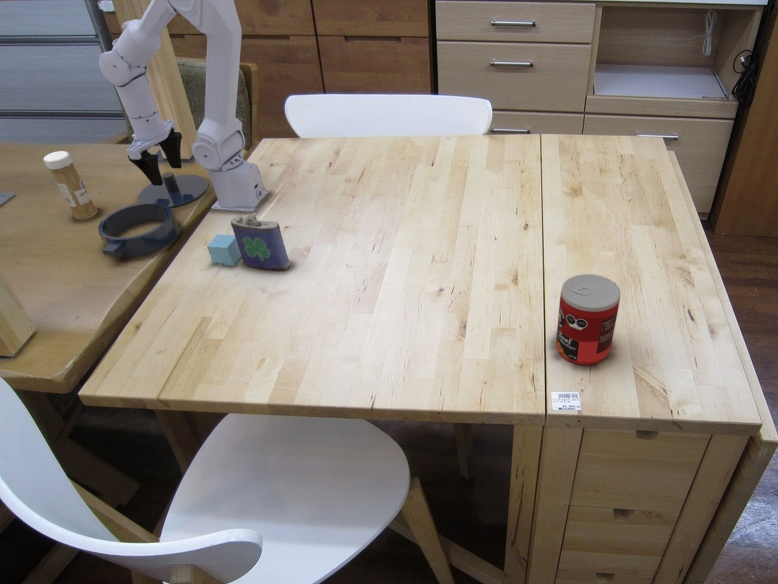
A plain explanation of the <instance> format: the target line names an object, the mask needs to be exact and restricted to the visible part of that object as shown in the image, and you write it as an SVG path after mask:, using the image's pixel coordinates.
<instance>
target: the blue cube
mask: <svg viewBox="0 0 778 584" xmlns="http://www.w3.org/2000/svg"><path fill="white" fill-rule="evenodd" d="M206 248H207V251H208V254H209V255H210V259H211V261H212V263H213V264H214V263H215V264H221V266H229V267H234V266H235V265H236V263H237V262H238V261H239V260H240V258H242V256H241V253H240V250H239V247H238V243H237V240H236V237H235V235H232V234H216V235H215V236H214V237H213V239H212V240H211V241H210V242H209V243H208V244H207V245H206Z"/></svg>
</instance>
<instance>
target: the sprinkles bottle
mask: <svg viewBox="0 0 778 584" xmlns="http://www.w3.org/2000/svg"><path fill="white" fill-rule="evenodd" d="M43 162H44V164H45V166H46V168H47V169H48V170H49V171H50V173H51V175H52V176H53V179H54V180H55V183H56V185H57V187H58V188H59V190H60V192H61V194H62V196H63V198H64V200H65V202H66V203H67V205H68V207H69V208H70V210H71V211H72V213H73V216H74V219H77V220H85V219H89V218H92V217H93V216H95V215H96V214H97V213H98V209H97V208H96V206H95V205H94V202H93V200H92V198H91V195H90V193H89V191H88V190H87V188H86V185H85V184H84V182H83V180H82V178H81V177H80V175H79V173H78V171H77V169H76V167H75V165H74V162H73V159H72V157H71V154H70V153H69V152H68V151H64V150H58V151H53V152H50V153H48V154H46V155H45V156H44V157H43Z"/></svg>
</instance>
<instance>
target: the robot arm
mask: <svg viewBox="0 0 778 584" xmlns="http://www.w3.org/2000/svg"><path fill="white" fill-rule="evenodd" d="M177 13H179V14H180V15H181V16H182V17H183V18H184V19H186V20H187V21H188V22H189V23H190V24H191V25H192V26H194V27H195V28H196V29H197V30H198V31H199V32H200V33H202V34H204V35H205V36H206V60H205V61H206V65H205V66H206V67H205V93H204V98H205V99H204V118H203V120H202V121H201V123H200V125H199V127H198V129H197V131H196V139H195V141H194V142H193V143H192V145H191V152H192V156H193V158H194V160H195V161H196V163H198V165H199V166H201V167H202V168H203V169H204V170H205V171H207V172H208V176H209V179H210V180H211V184H212V187H213V190H214V193H215V196H216V198H217V200H216V202H214V204H213V205H212V206H210V207H211V209H214V210H215V209H216V210H230V211H244V212H245V211H247V212H254V210H255V209H256V208H257V206H258V205H259V204H260V203H261V202H262V200H263V199H264V198H265V197H266V196H267V194H268V193H269V192H268V191H266V189H265V185H264V181H263V177H262V174H261V171H260V168H259V166H258V165H257V164H256V163H254V162H249V161H247V160H245V158H243V157H244V153H243V149H244V148H245V146H246V139H245V135H244V133H243V123H242V121H240V120H239V119H238V118H237V117H236V115H237V102H238V101H237V99H238V88H239V75H240V62H241V50H242V49H241V47H242V36H243V35H242V34H243V33H242V32H243V31H242V30H243V29H242V26H241V22H240V18H239V15H238V12H237V7H236V4H235V1H234V0H151V1H150V2H149V4H148V6H147V8H146V10H145V11H144V13H143V15H142V17H141V18H140V19H131V20H127V21H125V22H123V23H122V25H121V28H122V29H123V31H122V33H121V34H120V36H119V37H118V38H116V39H114V40H113V41H112V49H111V50H110V51H104V52H102V53H100V56H99V59H98V67H99V70H100V72H101V73H102V75H103V76H104V78H105V79H106V80H107V81H108V82H110V83H111V84H113V85H114V87H115V89H116V92H117V94H118V96H119V99H120V101H121V105H122V107H123V108H124V111H125V113H126V116H127V119H128V121H129V123H130V125H131V128H132V131H133V133H132V134H131V137H132V139H133V141H132V142H131V143H130V146H129V147H128V148H127V149H126V152H127V158H128V160H129V162H130V163H132V164H133V165H134V166H136V167H137V168H138V169H139V170H140V171H141V172H142V173H143V175H144V176H145V177H146V178H147V179H148V181H149V182H150V184H151V183H152V185H156V186H162V185H163V180H162V174H161V171H160V166H159V154H156V153H155V154H153V153H151V152H149V150H150V149H151V148H152V147H153V146H155V145H157V144H158V146H159V147H160V148H161V150H162V152H163V154H164V156H165V158H166V161H167V163H168V165H169V166H170V168H171V169H179V170H180V169H182V155H181V154H182V153H181V147H182V146H181V145H182V140H183V135H182V132H180V131H177V130H178V126H177V124H176V120H175V119H165V120H164V121H163V120H162V117H161V115H160V112H159V109H158V107H157V103H156V102H155V99H154V97H153V93H152V91H151V88H150V86H149V83H150V79H149V76H148V72H149V62H150V61H151V60H152V58H153V57H154V56H155V54H156V53H157V52H158V50H159V49H160V48H161V46H162V38H161V36H160V34H161V33H162V32H163V30H164V29H165V28H166V27H167V25H168V24H169V23H170V22H171V21H172V20H173V18H174V17H175V16H176V15H177Z"/></svg>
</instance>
